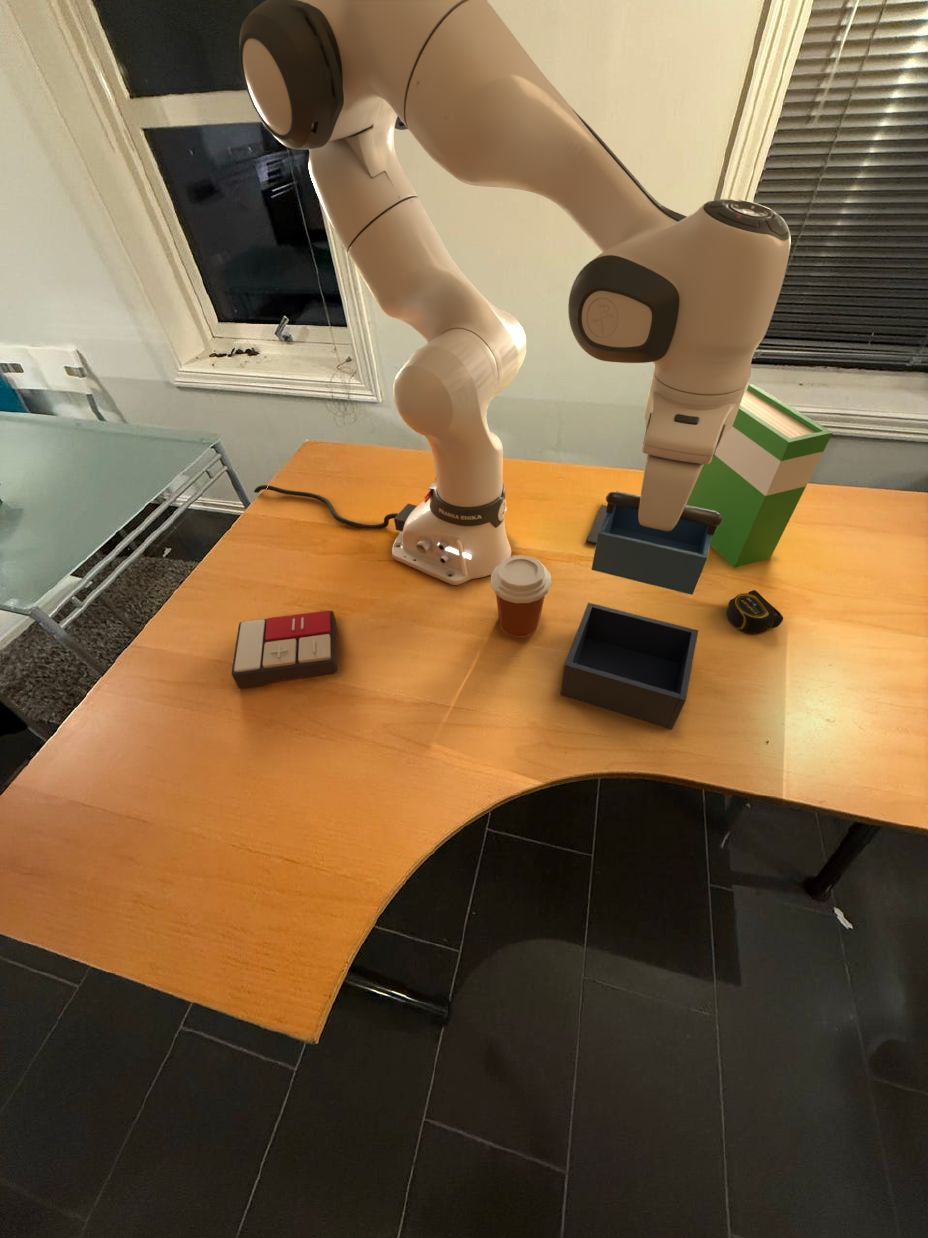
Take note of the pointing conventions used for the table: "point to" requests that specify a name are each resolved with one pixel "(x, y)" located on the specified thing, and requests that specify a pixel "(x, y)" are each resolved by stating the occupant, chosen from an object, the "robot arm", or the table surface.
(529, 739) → the table surface
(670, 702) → the bin
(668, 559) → the inner bin
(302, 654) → the button control panel
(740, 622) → the tape measure
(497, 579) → the coffee cup
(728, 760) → the table surface
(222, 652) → the table surface
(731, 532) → the hardback book
